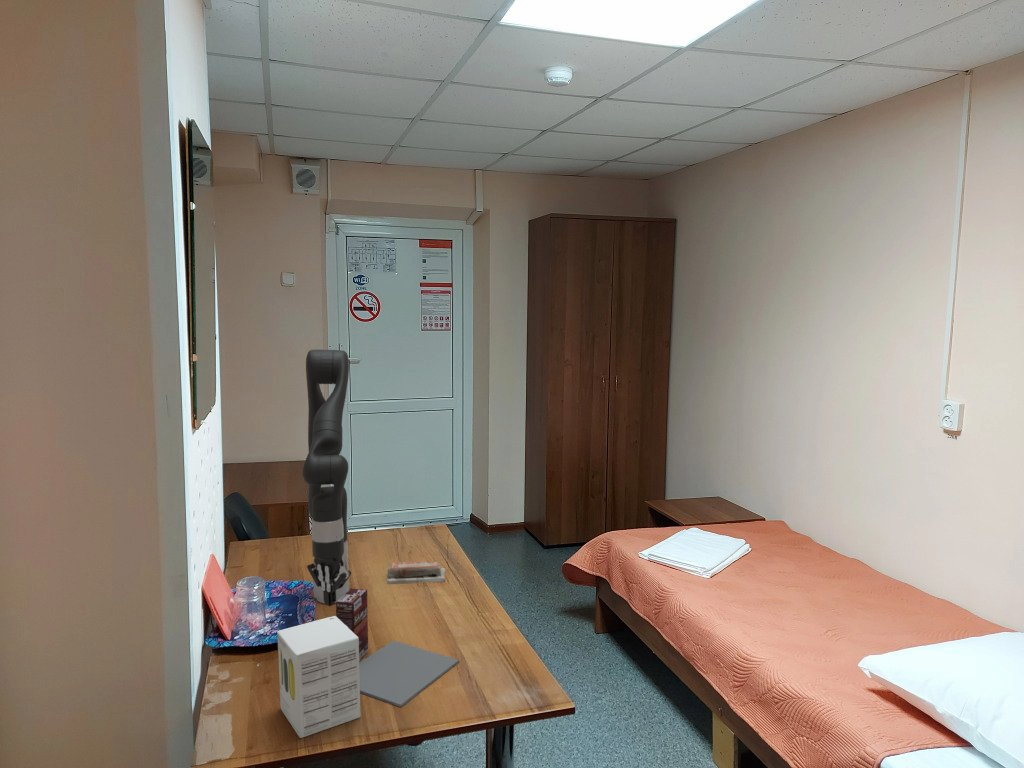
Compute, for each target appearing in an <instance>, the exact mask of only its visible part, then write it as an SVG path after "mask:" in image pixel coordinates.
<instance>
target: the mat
mask: <svg viewBox="0 0 1024 768" xmlns="http://www.w3.org/2000/svg"><path fill="white" fill-rule="evenodd" d="M458 662H459V663H460V659H457V658H454V657H451V656H447V655H443V654H440V653H437V652H434V651H430V650H427V649H423V648H420V647H417V646H414V645H410V644H407V643H404V642H399V641H397V640H392V641H390V642H389V643H388V644H386V645H384V646H383V647H381V648H380V649H378V650H377V651H375V652H373V653H372V654H370V655H369V656H367V657H366V658H364V659H361V660H360V661H359V678H360V694H362V695H365V696H368V697H370V698H374V699H375V700H378V701H381V702H385V703H388V704H389V705H393V706H396V707H398V708H402V707H403V706H404V705H406V704H408V703H409V702H410V701H411V700H412V699H414V698H415V697H416V696H417V695H419V694H420V693H422V692H423V691H424V690H425V689H427V688H428V687H429V686H430V685H432V684H433V683H434V682H436V681H437V680H439V678H441V677H442V676H444V675H445V674H446V673H447V672H449V671H450V670H451V669H452V668H454V667H455V666H456V665H458V664H459V663H458ZM457 663H458V664H457ZM455 664H456V665H455ZM454 665H455V666H454ZM453 666H454V667H453ZM450 668H451V669H450ZM449 669H450V670H449ZM445 672H446V673H445ZM444 673H445V674H444ZM435 680H436V681H435Z"/></svg>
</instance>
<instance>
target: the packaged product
mask: <svg viewBox="0 0 1024 768" xmlns="http://www.w3.org/2000/svg"><path fill="white" fill-rule="evenodd" d="M445 578H446V568H445V567H441V563H440V562H438V561H426V562H425V561H420V562H419V561H417V562H415V561H410V562H409V561H408V562H402V561H401V562H390V563H389V565H388V567H387V578H386V584H387V585H388V584H389V585H393V584H395V585H396V584H423V583H422V582H433V583H444V582H445V580H446V579H445ZM443 581H444V582H443ZM419 582H421V583H419Z"/></svg>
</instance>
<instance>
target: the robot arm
mask: <svg viewBox="0 0 1024 768" xmlns="http://www.w3.org/2000/svg"><path fill="white" fill-rule="evenodd" d="M349 360H350V359H349V355H348V353H347V352H346V351H345V350H342V349H310V350H309V351H308V352H307V354H306V358H305V376H306V378H305V379H306V385H307V386H306V388H307V389H306V390H307V401H308V402H307V403H308V405H307V406H308V414H307V415H308V420H307V421H308V422H307V423H308V424H307V441H308V442H307V444H308V453H307V455H306V458H305V461H304V462H303V466H302V477H303V479H304V482H306V483H307V484H308V492H307V493H308V495H307V499H308V500H307V509H308V515H309V517H310V519H312V520H311V521H312V522H311V546H312V547H311V548H312V550H311V551H312V553H311V554H312V557H313V562H311V563H310V564H308V565H307V566H306V568H307V570H308V572H309V575H310V576H311V578H312V581H313V599H316V601H317V602H319V603H321V604H324V606H326V607H327V606H328V607H332V606H334V605H336V601H338V600H339V599H340V598H341V597H343V596H344V595H345V594H346V593H347V592H348V591H349V590H350V586H349V581H350V580H349V578H350V576H352V571H351V570H349V551H348V527H347V526H348V522H347V519H348V495H347V494H348V492H347V490H346V487H345V484H346V480H347V477H348V474H349V462H348V460H347V458H346V457H345V456H344V455H342V454H341V452H342V449H343V424H342V423H343V413H344V408H345V402H346V399H347V389H348V383H349V374H350V361H349ZM320 385H334V387H333V390H332V392H331V393H330V395H328V398H326V399H325V397H324V395H323V393H322V390H321V386H320ZM323 485H328V486H323ZM329 485H333V486H329Z"/></svg>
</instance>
